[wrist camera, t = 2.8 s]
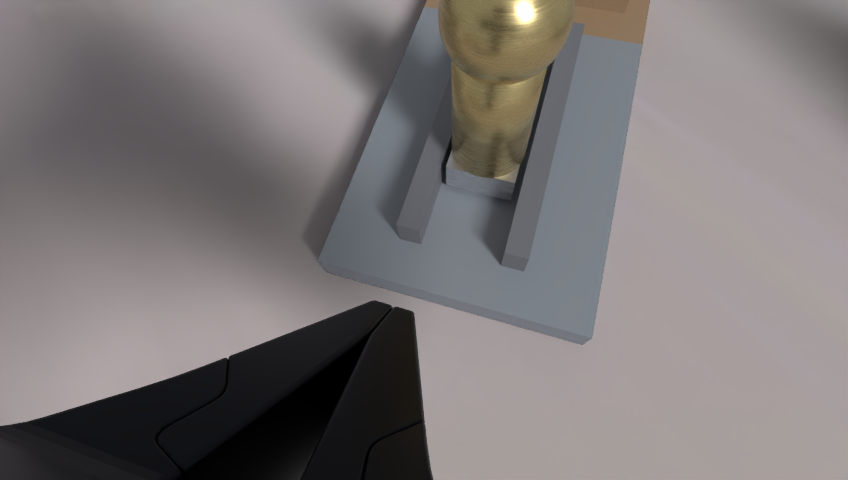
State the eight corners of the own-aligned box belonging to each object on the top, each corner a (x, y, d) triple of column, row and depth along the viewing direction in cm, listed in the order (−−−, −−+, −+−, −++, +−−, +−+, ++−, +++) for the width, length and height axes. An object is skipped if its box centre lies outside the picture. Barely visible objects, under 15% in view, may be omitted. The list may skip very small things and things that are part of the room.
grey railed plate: (582, 344, 20) (619, 318, 15) (326, 271, 22) (294, 229, 17) (643, 2, 27) (680, -81, 23) (448, -29, 29) (447, -112, 25)
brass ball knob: (519, 213, 20) (576, 18, 11) (432, 192, 21) (416, -9, 12) (559, 54, 24) (630, -201, 14) (484, 40, 25) (503, -212, 15)
